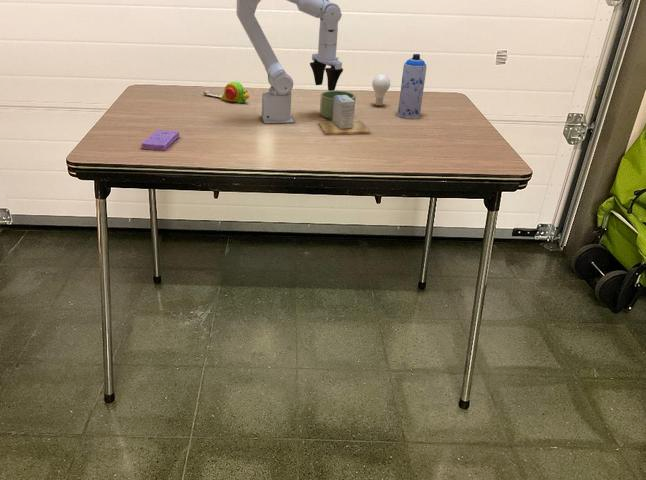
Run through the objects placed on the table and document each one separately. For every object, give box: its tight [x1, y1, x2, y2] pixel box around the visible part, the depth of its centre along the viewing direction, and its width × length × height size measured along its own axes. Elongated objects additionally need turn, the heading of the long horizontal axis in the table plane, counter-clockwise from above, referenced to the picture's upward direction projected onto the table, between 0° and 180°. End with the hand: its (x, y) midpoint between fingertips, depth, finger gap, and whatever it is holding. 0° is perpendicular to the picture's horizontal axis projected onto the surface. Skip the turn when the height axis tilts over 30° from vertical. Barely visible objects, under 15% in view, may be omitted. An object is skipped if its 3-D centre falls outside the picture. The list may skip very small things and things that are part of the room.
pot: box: [319, 90, 357, 121], centre depth 204 cm, size 11×11×7 cm
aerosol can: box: [396, 53, 427, 120], centre depth 203 cm, size 8×8×20 cm
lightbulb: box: [371, 73, 391, 107], centre depth 215 cm, size 6×6×11 cm
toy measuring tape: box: [203, 80, 250, 104], centre depth 218 cm, size 6×19×7 cm, turn 57°
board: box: [318, 120, 371, 136], centre depth 193 cm, size 14×11×1 cm
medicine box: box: [331, 95, 356, 129], centre depth 192 cm, size 8×4×9 cm, turn 15°
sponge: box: [141, 129, 180, 151], centre depth 177 cm, size 7×13×2 cm, turn 170°
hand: (324, 87), depth 198 cm, fingers open, 7 cm apart
